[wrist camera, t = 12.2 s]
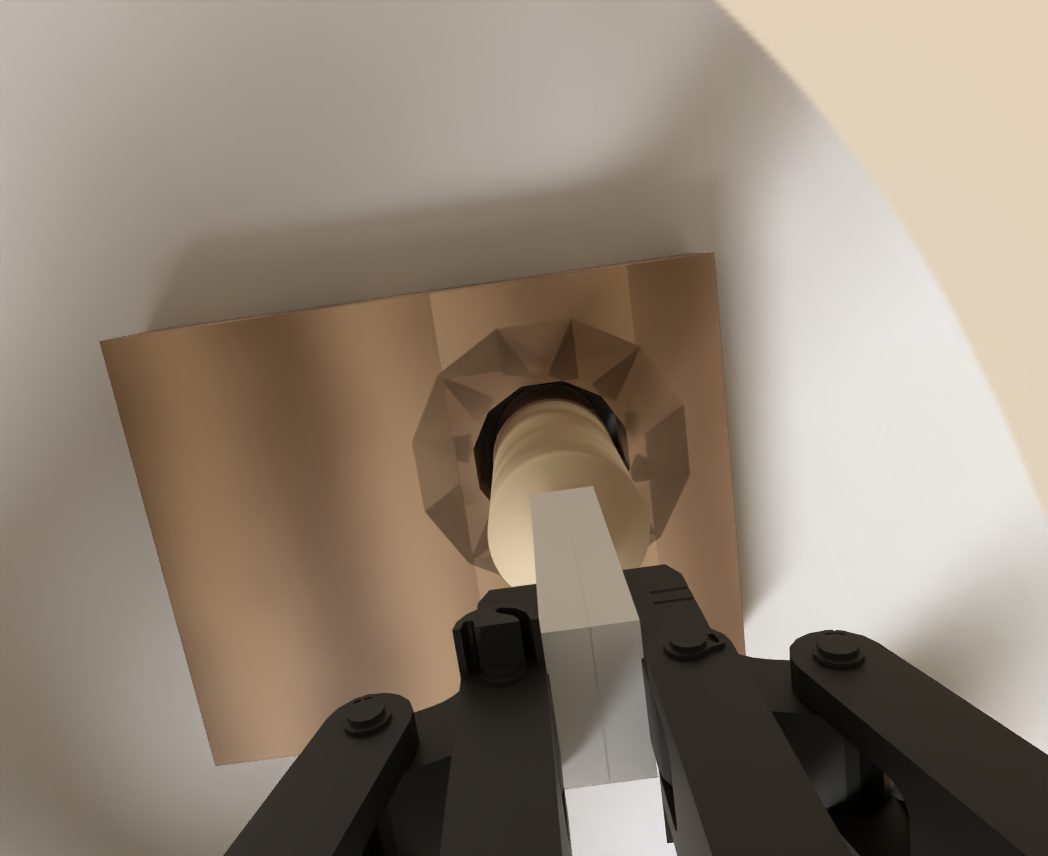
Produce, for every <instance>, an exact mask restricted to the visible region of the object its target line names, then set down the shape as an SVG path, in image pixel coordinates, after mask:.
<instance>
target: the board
mask: <svg viewBox="0 0 1048 856" xmlns="http://www.w3.org/2000/svg"><path fill="white" fill-rule="evenodd" d="M100 345H101V348H102V352H103V356H104V359H105V363H106V367H107V370H108V374H109V378H110V381H111V385H112V389H113V392H114V396H115V400H116V403H117V407H118V411H119V414H120V418H121V422H122V425H123V429H124V433H125V436H126V440H127V444H128V447H129V451H130V455H131V458H132V462H133V466H134V469H135V473H136V477H137V480H138V484H139V488H140V491H141V495H142V499H143V502H144V506H145V510H146V513H147V517H148V521H149V524H150V528H151V532H152V535H153V539H154V543H155V546H156V550H157V554H158V557H159V561H160V565H161V568H162V572H163V576H164V579H165V583H166V587H167V590H168V594H169V598H170V601H171V605H172V609H173V612H174V616H175V620H176V623H177V627H178V631H179V634H180V638H181V642H182V645H183V649H184V653H185V656H186V660H187V664H188V667H189V671H190V675H191V678H192V682H193V686H194V689H195V693H196V697H197V700H198V704H199V708H200V711H201V715H202V719H203V722H204V726H205V730H206V733H207V737H208V741H209V744H210V748H211V752H212V755H213V759H214V763H215V766H220V765H227V764H235V763H242V762H250V761H257V760H265V759H272V758H280V757H287V756H295V755H300V753H301V752H302V751H303V749H304V748H305V747H306V746H307V744H308V743H309V742H310V740H311V739H312V738H313V736H314V735H315V734H316V732H317V731H318V730H319V728H320V727H321V726H322V724H323V723H324V722H325V720H326V719H327V718H328V717H329V716H330V715H331V714H332V713H333V712H334V711H335V710H336V709H337V708H339V707H341V706H343V705H344V704H346V703H348V702H350V701H352V700H353V699H355V698H358V697H363V696H364V695H368V694H378V693H392V694H398V695H401V696H403V697H404V698H406V699H408V700H409V701H410V703H411V705H412V708H413V711H414V712H417V711H420V710H423V709H426V708H429V707H431V706H434V705H436V704H439V703H441V702H443V701H445V700H447V699H449V698H450V697H452V696H454V695H455V694H456V693H457V692H458V691H459V689H460V681H461V677H460V672H459V666H458V661H457V655H456V650H455V644H454V638H453V633H452V630H453V628H454V626H455V624H456V622H457V621H458V620H460V619H461V618H462V617H463V616H465V615H466V614H468V613H470V612H472V611H475V610H477V605H478V603H479V601H480V600H481V599H482V598H483V597H484V596H485V594H486V593H487V592H488V591H489V590H494V589H501V588H508V587H511V586H510V585H509V584H508V583H507V582H506V581H505V579H504V578H503V577H502V576H501V574H500V573H499V571H498V569H497V568H496V566H495V564H494V562H493V559H492V557H491V553H490V549H489V545H488V519H489V509H490V498H491V488H492V477H493V476H492V475H491V474H490V472H489V471H488V470H487V469H486V468H485V466H484V465H483V462H482V455H481V449H480V443H479V437H478V436H479V434H480V431H481V429H482V426H483V424H484V421H485V419H486V416H487V414H488V412H489V411H490V410H491V409H493V408H494V407H495V406H497V405H498V404H499V403H500V402H502V401H503V400H504V399H506V398H507V397H508V396H509V395H511V394H512V393H513V392H515V391H516V390H517V389H519V388H520V387H521V386H529V385H536V384H543V383H550V382H557V381H565V382H567V383H570V384H572V385H575V386H577V387H580V388H582V389H585V390H587V391H590V392H592V393H595V394H597V395H600V396H602V398H603V399H604V400H605V401H606V403H607V404H608V405H609V407H610V408H611V409H612V411H613V412H614V414H615V423H616V431H617V440H618V447H617V449H616V450H617V452H618V454H619V455H620V457H621V459H622V461H623V463H624V465H625V467H626V469H627V470H628V472H629V474H630V476H631V478H632V480H633V482H634V484H635V485H636V487H637V489H638V491H639V493H640V495H641V497H642V499H643V501H644V503H645V506H646V509H647V512H648V517H649V524H650V536H649V544H648V548H647V552H646V555H645V557H644V560H643V562H642V564H641V566H640V568H641V567H648V566H655V565H663V564H666V565H668V566H669V567H671V568H673V569H674V570H676V571H678V572H680V573H681V574H682V575H683V577H684V579H685V581H686V583H687V585H688V587H689V589H690V590H691V592H692V594H693V596H694V600H696V602H697V603H698V605H699V607H700V609H701V611H702V613H703V615H704V617H705V619H706V620H707V622H708V624H709V626H710V628H711V629H714V630H716V631H718V632H721V633H723V634H725V635H726V636H727V637H728V638H729V639H730V640H731V641H732V643H733V645H734V646H735V648H736V650H737V652H738V654H741V655H744V656H746V653H745V640H744V627H743V615H742V602H741V589H740V577H739V564H738V551H737V539H736V526H735V513H734V501H733V488H732V475H731V463H730V450H729V437H728V425H727V412H726V399H725V387H724V374H723V361H722V349H721V336H720V323H719V311H718V298H717V285H716V273H715V260H714V253H697V254H686V255H679V256H672V257H665V258H658V259H651V260H644V261H637V262H630V263H623V264H616V265H609V266H602V267H595V268H588V269H581V270H574V271H567V272H560V273H553V274H546V275H539V276H533V277H526V278H519V279H512V280H505V281H498V282H491V283H484V284H477V285H470V286H463V287H456V288H449V289H442V290H435V291H428V292H421V293H414V294H407V295H400V296H393V297H386V298H379V299H373V300H366V301H359V302H352V303H345V304H338V305H331V306H324V307H317V308H310V309H303V310H296V311H289V312H282V313H275V314H268V315H261V316H254V317H247V318H240V319H233V320H226V321H219V322H213V323H206V324H199V325H192V326H185V327H178V328H171V329H164V330H157V331H150V332H144V333H139V334H134V335H129V336H124V337H119V338H114V339H109V340H104V341H100Z"/></svg>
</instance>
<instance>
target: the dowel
mask: <svg viewBox="0 0 1048 856" xmlns="http://www.w3.org/2000/svg"><path fill="white" fill-rule="evenodd" d="M493 465H494V467H493V477H492V488H491V498H490V509H489V519H488V545H489V549H490V553H491V557H492V559H493V562H494V564H495V566H496V568H497V569H498V571H499V573H500V574H501V576H502V577H503V578H504V579H505V581H506V582H507V583H508V584H509V585H510V586H511V587H516V586H523V585H530V584H536V572H535V558H534V544H533V530H532V516H531V501H530V495H531V494H538V493H545V492H553V491H560V490H567V489H574V488H582V487H589V486H593V488H594V491H595V494H596V496H597V499H598V502H599V505H600V508H601V511H602V514H603V516H604V519H605V522H606V525H607V528H608V531H609V534H610V537H611V539H612V542H613V545H614V548H615V551H616V554H617V557H618V559H619V562H620V565H621V568H622V570H626V569H633V568H640V566H641V564H642V562H643V560H644V557H645V555H646V552H647V548H648V544H649V536H650V524H649V517H648V512H647V509H646V506H645V503H644V501H643V499H642V497H641V495H640V493H639V491H638V489H637V487H636V485H635V484H634V482H633V480H632V478H631V476H630V474H629V472H628V470H627V469H626V467H625V465H624V463H623V461H622V459H621V457H620V455H619V454H618V452H617V450H616V448H615V446H614V444H613V441H612V439H611V436H610V434H609V432H608V430H607V428H606V426H605V424H604V423H603V422H602V420H601V419H600V418H599V416H598V414H597V412H596V410H595V409H594V407H593V406H592V404H591V403H590V402H589V401H588V400H587V399H586V398H585V397H584V396H583V395H581V394H580V393H578V392H577V391H575V390H573V389H570V388H568V387H565V386H561V385H552V384H547V385H539V386H535V387H532V388H529V389H527V390H525V391H523V392H521V393H520V394H519V395H517V396H516V397H515V398H514V399H513V400H511V401H510V403H509V404H508V405H507V406H506V408H505V409H504V411H503V413H502V415H501V417H500V420H499V423H498V428H497V435H496V441H495V445H494V451H493Z"/></svg>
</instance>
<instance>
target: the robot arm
mask: <svg viewBox="0 0 1048 856" xmlns="http://www.w3.org/2000/svg"><path fill="white" fill-rule="evenodd" d="M530 501H531V516H532V530H533V544H534V558H535V572H536V584H530V585H523V586H516V587H508V588H501V589H494V590H489V591H488V592H487V593H486V594H485V596H484V597H483V598H482V599H481V600H480V601H479V603H478V605H477V610H475V611H472V612H470V613H468V614H466V615H465V616H463V617H462V618H461V619H460V620H458V621H457V622H456V624H455V626H454V628H453V630H452V633H453V638H454V644H455V650H456V655H457V661H458V666H459V672H460V677H461V681H460V689H459V691H458V692H457V693H456V694H455V695H454V696H452V697H450V698H449V699H447V700H445V701H443V702H441V703H439V704H436V705H434V706H431V707H429V708H426V709H423V710H420V711H417V712H414V711H413V708H412V705H411V703H410V701H409V700H408V699H406V698H404V697H403V696H401V695H398V694H392V693H378V694H368V695H364V696H363V697H358V698H355V699H353V700H352V701H350V702H348V703H346V704H344V705H343V706H341V707H339V708H337V709H336V710H335V711H334V712H333V713H332V714H331V715H330V716H329V717H328V718H327V719H326V720H325V722H324V723H323V724H322V726H321V727H320V728H319V730H318V731H317V732H316V734H315V735H314V736H313V738H312V739H311V740H310V742H309V743H308V744H307V746H306V747H305V748H304V749H303V751H302V752H301V753H300V755H299V756H298V757H297V759H296V760H295V761H294V763H293V764H292V765H291V767H290V768H289V769H288V771H287V772H286V773H285V775H284V776H283V777H282V779H281V780H280V781H279V783H278V784H277V785H276V787H275V788H274V789H273V791H272V792H271V793H270V795H269V796H268V797H267V799H266V800H265V801H264V803H263V804H262V805H261V807H260V808H259V809H258V811H257V812H256V813H255V814H254V816H253V817H252V818H251V820H250V821H249V822H248V824H247V825H246V826H245V828H244V829H243V830H242V832H241V833H240V834H239V836H238V837H237V838H236V840H235V841H234V842H233V844H232V845H231V846H230V848H229V849H228V850H227V852H226V853H225V854H224V856H572V850H571V840H570V830H569V820H568V811H567V805H566V798H565V791H564V789H571V788H579V787H586V786H594V785H602V784H609V783H617V782H624V781H632V780H640V779H647V778H655V777H657V768H656V761H657V765H658V768H659V774H660V783H661V792H662V801H663V810H664V818H665V827H666V836H667V843H673V842H674V845H675V849H676V852H677V856H1048V755H1047V754H1046V753H1044V752H1043V751H1041V750H1039V749H1038V748H1036V747H1035V746H1033V745H1032V744H1030V743H1029V742H1027V741H1026V740H1024V739H1023V738H1021V737H1020V736H1018V735H1017V734H1015V733H1014V732H1012V731H1011V730H1009V729H1008V728H1006V727H1005V726H1003V725H1002V724H1000V723H999V722H997V721H996V720H994V719H993V718H991V717H990V716H988V715H987V714H985V713H983V712H982V711H980V710H979V709H977V708H976V707H974V706H973V705H971V704H970V703H968V702H967V701H965V700H964V699H962V698H961V697H959V696H958V695H956V694H955V693H953V692H952V691H950V690H949V689H947V688H946V687H944V686H943V685H941V684H940V683H938V682H937V681H935V680H934V679H932V678H931V677H929V676H928V675H926V674H924V673H923V672H921V671H920V670H918V669H917V668H915V667H914V666H912V665H911V664H909V663H908V662H906V661H905V660H903V659H902V658H900V657H899V656H897V655H896V654H894V653H893V652H891V651H890V650H888V649H887V648H885V647H884V646H882V645H881V644H879V643H877V642H875V641H873V640H871V639H869V638H867V637H865V636H863V635H858V634H854V633H850V632H847V631H841V630H836V631H833V630H824V631H820V632H814V633H809V634H807V635H804V636H802V637H800V638H798V639H796V640H795V641H794V643H793V644H792V645H791V646H790V661H789V660H771V659H760V658H752V657H748V656H744V655H741V654H738V652H737V650H736V648H735V646H734V645H733V643H732V641H731V640H730V639H729V638H728V637H727V636H726V635H725V634H723V633H721V632H718V631H716V630H714V629H711V628H710V626H709V624H708V622H707V620H706V619H705V617H704V615H703V613H702V611H701V609H700V607H699V605H698V603H697V602H696V600H694V596H693V594H692V592H691V590H690V589H689V587H688V585H687V583H686V581H685V579H684V577H683V575H682V574H681V573H680V572H678V571H676V570H674V569H673V568H671V567H669V566H668V565H666V564H663V565H655V566H648V567H641V568H633V569H626V570H622V568H621V565H620V562H619V559H618V557H617V554H616V551H615V548H614V545H613V542H612V539H611V537H610V534H609V531H608V528H607V525H606V522H605V519H604V516H603V514H602V511H601V508H600V505H599V502H598V499H597V496H596V494H595V491H594V488H593V486H589V487H582V488H574V489H567V490H560V491H553V492H545V493H538V494H531V495H530ZM655 758H656V759H655Z"/></svg>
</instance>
